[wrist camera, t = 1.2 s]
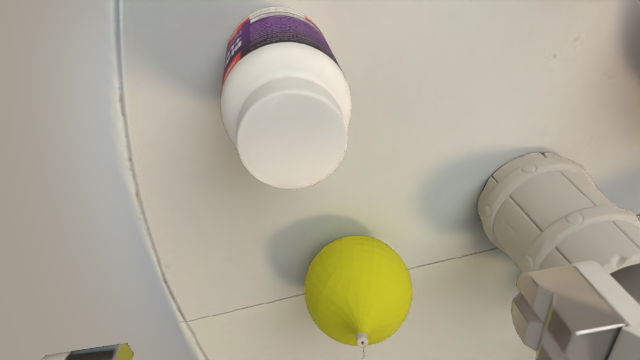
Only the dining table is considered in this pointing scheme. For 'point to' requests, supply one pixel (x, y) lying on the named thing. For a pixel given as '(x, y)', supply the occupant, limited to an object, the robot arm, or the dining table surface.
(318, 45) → the pill bottle
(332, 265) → the ornament
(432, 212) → the dining table surface
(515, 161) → the mug
